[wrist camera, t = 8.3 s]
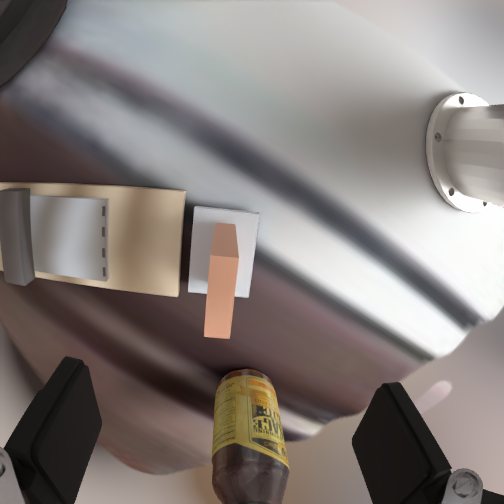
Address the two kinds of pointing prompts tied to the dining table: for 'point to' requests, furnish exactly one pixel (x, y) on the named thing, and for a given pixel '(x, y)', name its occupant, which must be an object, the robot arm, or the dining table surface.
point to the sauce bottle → (248, 441)
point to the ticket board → (92, 235)
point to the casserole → (25, 31)
